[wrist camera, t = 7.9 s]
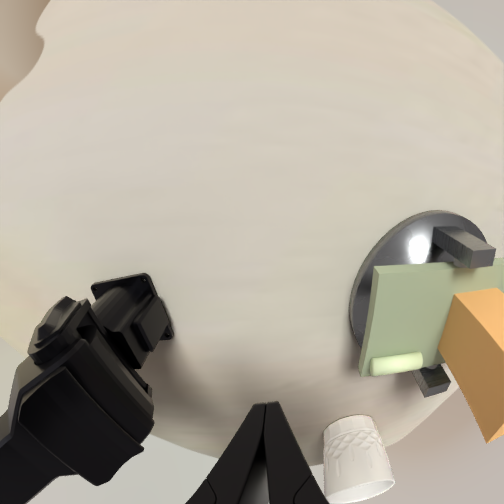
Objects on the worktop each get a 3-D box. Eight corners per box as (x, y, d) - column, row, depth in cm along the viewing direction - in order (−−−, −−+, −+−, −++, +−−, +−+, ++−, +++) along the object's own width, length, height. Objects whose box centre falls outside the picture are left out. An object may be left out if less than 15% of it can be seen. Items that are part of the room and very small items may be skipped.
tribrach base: (340, 367, 24) (353, 419, 18) (354, 210, 19) (389, 238, 13) (462, 344, 23) (488, 380, 17) (494, 211, 17) (540, 232, 11)
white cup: (306, 437, 29) (309, 503, 19) (346, 406, 26) (361, 480, 17) (350, 446, 30) (359, 503, 20) (389, 416, 27) (408, 478, 18)
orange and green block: (357, 370, 20) (381, 490, 10) (374, 258, 17) (456, 387, 6) (482, 347, 18) (532, 426, 8) (512, 251, 15) (597, 317, 4)
